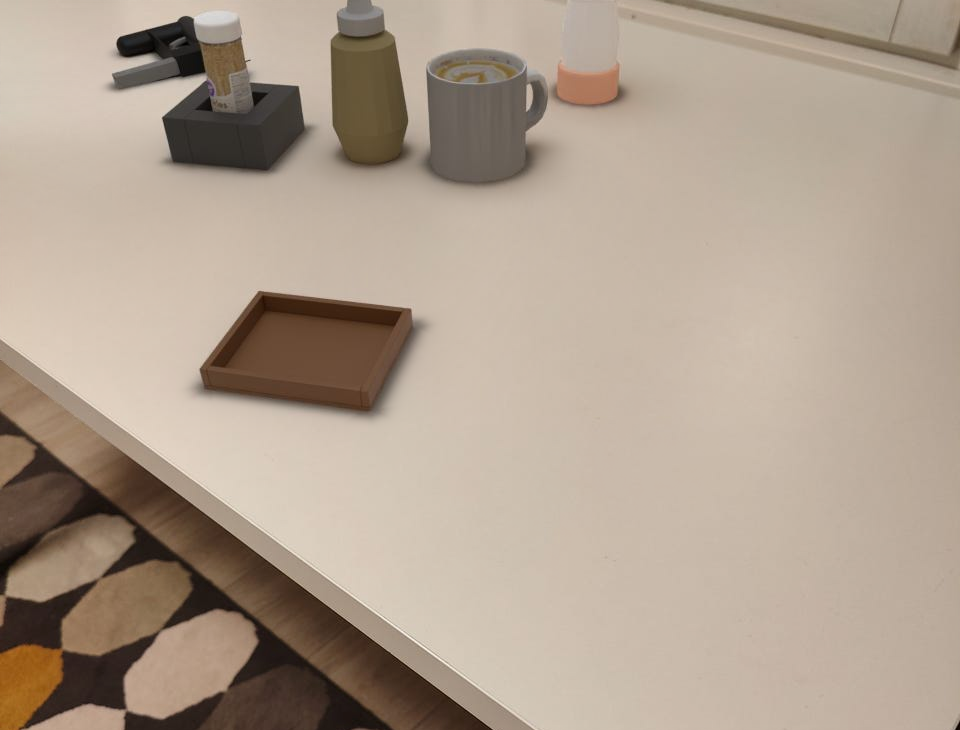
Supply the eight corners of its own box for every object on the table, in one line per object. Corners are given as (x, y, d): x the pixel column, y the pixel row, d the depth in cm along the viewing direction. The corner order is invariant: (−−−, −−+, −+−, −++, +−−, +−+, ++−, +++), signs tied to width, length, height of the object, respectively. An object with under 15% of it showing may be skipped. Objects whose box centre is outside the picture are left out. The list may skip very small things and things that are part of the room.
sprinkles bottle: (211, 148, 104) (183, 17, 95) (243, 134, 106) (219, 6, 97) (238, 159, 102) (212, 26, 92) (270, 145, 104) (248, 14, 95)
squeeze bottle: (419, 164, 100) (407, -22, 88) (343, 175, 98) (320, -14, 86) (401, 134, 106) (388, -45, 93) (330, 144, 104) (307, -37, 92)
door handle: (127, 85, 111) (253, 50, 117) (82, 39, 124) (198, 9, 129) (136, 113, 114) (260, 77, 119) (91, 65, 126) (205, 34, 132)
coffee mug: (450, 191, 95) (446, 90, 88) (418, 152, 102) (412, 56, 95) (570, 167, 99) (575, 69, 92) (531, 132, 105) (534, 38, 99)
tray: (204, 390, 72) (198, 369, 70) (262, 311, 80) (258, 290, 78) (370, 413, 69) (367, 391, 68) (413, 329, 77) (411, 308, 76)
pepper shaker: (628, 100, 112) (644, -85, 99) (571, 109, 110) (580, -77, 97) (601, 79, 117) (613, -99, 104) (547, 88, 115) (552, -93, 102)
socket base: (172, 163, 101) (161, 117, 98) (216, 123, 109) (207, 79, 105) (267, 172, 99) (259, 125, 96) (305, 130, 107) (298, 85, 103)
